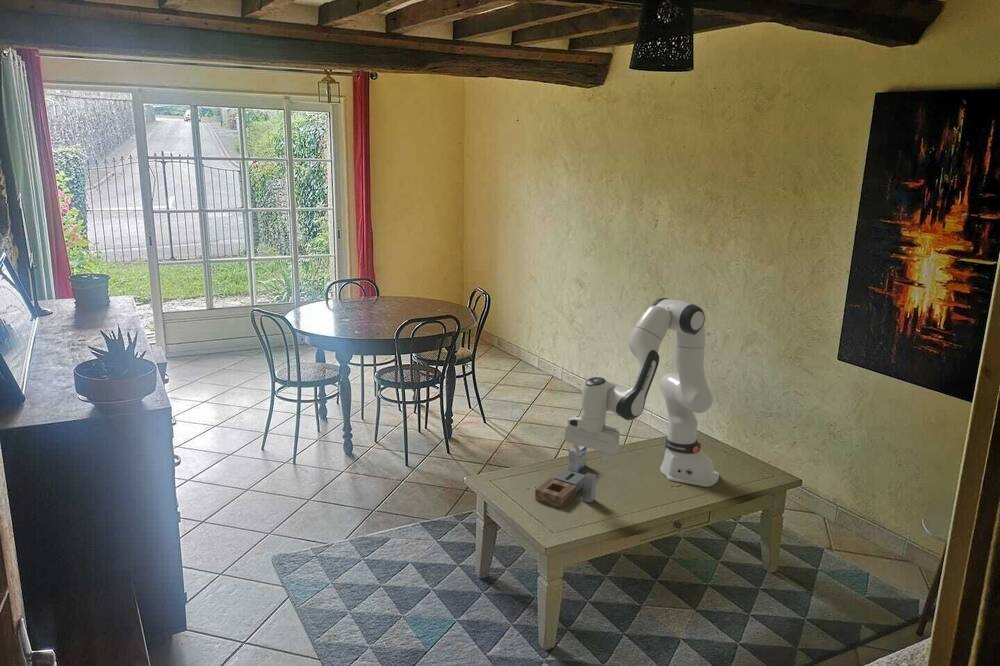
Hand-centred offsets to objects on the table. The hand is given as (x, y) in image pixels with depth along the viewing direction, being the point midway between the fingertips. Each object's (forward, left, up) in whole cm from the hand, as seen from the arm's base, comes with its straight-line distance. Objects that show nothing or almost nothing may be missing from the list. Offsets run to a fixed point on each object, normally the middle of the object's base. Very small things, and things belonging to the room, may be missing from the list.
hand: (590, 458), depth 255 cm
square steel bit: (0, 0, -17) cm, 17 cm away
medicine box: (+16, -22, -17) cm, 32 cm away
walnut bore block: (+11, +5, -17) cm, 20 cm away
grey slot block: (+11, -6, -17) cm, 21 cm away
